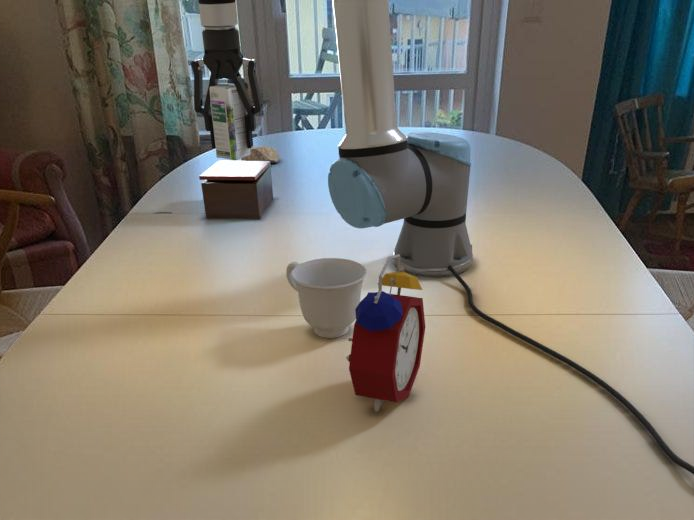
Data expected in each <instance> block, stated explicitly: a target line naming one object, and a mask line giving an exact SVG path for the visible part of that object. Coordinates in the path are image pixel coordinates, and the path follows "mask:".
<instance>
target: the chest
mask: <svg viewBox="0 0 694 520" xmlns="http://www.w3.org/2000/svg"><path fill="white" fill-rule="evenodd" d="M271 165H272V164H271ZM271 165H270V166H269V167H268V168H267V169H266V170H265V171H264V172H263V173H262V174H261V175H260V176H259V177H258V178H257V179H256V180H202V181H201V183H200V185H201V192H202V201H203V207H204V213H205V219H208V220H209V219H210V220H211V219H212V220H215V219H216V220H219V219H220V220H261V218H262V216H263V215H264V213H265V212H266V211H267V209H268V207H269V206H270V205H271V203H272V202H273V200H274V191H273V179H272V166H271Z"/></svg>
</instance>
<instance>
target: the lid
mask: <svg viewBox="0 0 694 520" xmlns="http://www.w3.org/2000/svg"><path fill="white" fill-rule="evenodd" d="M270 165H272V164H271V163H270V161H242V160H218V161H217V162H215V163H214V164H213V165H212V166H210V167H208V169H206V170H205V171H204V172H202V173H201V174H200V175H198V178H199V180H200V181H204V180H256V179H257V178H258V177H259V176H260V175H261V174H262V173H263V172H264V171H265V170H266V169H267V168H268V167H269V166H270Z"/></svg>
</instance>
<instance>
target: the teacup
mask: <svg viewBox="0 0 694 520" xmlns="http://www.w3.org/2000/svg"><path fill="white" fill-rule="evenodd" d="M285 275H286V279H287V281H288V284H289V285H290V287H291V288H292V289H293V290H294V291H295V292H296V293H297V294H298V300H299V305H300V306H299V307H300V309H301V313H302V316H303V319H304V320H305V321H306V323H307V324H308V325H310V326H311V327H312V328H313V333H314V334H315V335H316V336H318V337H320V338H326V339H334V338H341V337H343V336H345V335H346V334H347V333H348V332H349V326H350V325H352V324H353V323H355V321H356V313H355V309H356V307H357V306H358V304H359V303H360V302H361V295H362V287H363V282H364V280H365V278H366V277H367V276H368V269H367V268H366V267H365V266H364V265H363V264H361V263H360V262H357V261H355V260H352V259H346V258H339V257H325V258H323V257H322V258H316V259H311V260H308V261H305V262H302V263H299V262H298V261H292V262H290V263H288V265H287V267H286V270H285Z"/></svg>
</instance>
